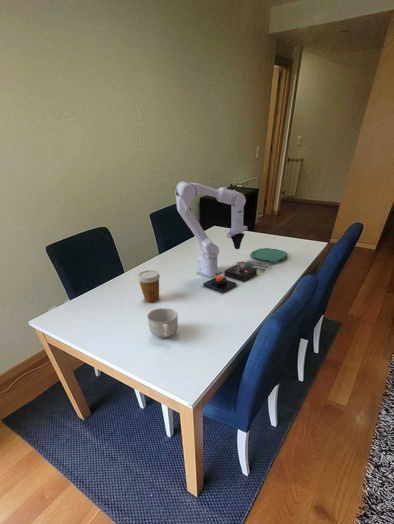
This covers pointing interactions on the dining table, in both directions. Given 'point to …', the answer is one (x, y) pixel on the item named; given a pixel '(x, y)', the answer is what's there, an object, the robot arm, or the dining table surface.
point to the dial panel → (240, 273)
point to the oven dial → (241, 266)
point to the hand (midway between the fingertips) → (237, 248)
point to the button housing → (219, 285)
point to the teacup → (163, 322)
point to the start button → (219, 278)
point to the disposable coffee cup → (149, 285)
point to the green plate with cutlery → (266, 257)
